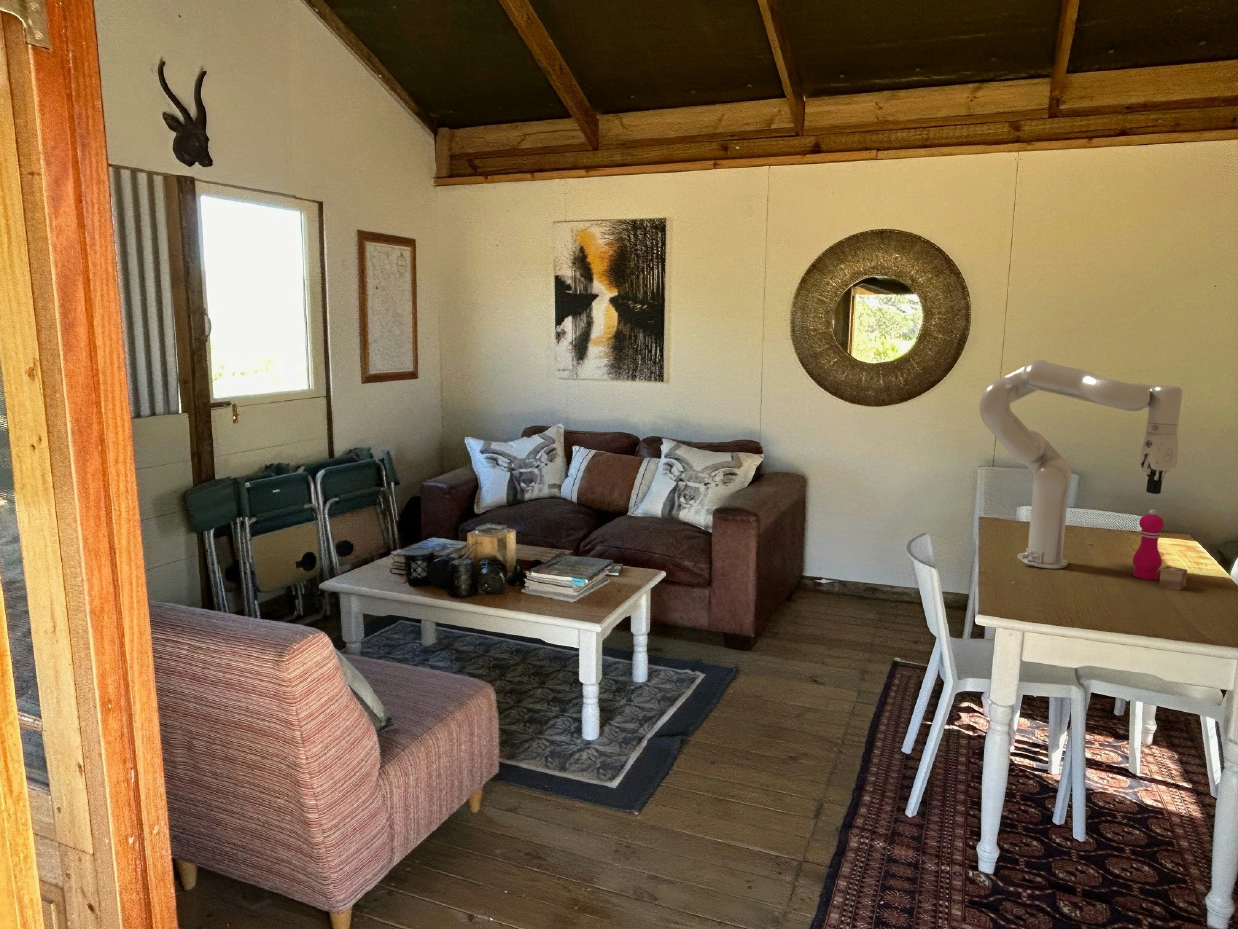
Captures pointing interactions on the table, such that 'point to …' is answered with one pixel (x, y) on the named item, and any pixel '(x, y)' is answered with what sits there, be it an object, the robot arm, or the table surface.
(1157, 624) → the table surface
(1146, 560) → the pepper mill
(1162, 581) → the walnut block
